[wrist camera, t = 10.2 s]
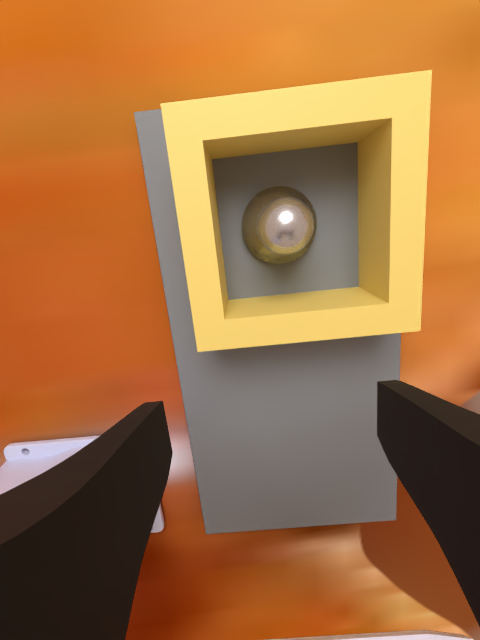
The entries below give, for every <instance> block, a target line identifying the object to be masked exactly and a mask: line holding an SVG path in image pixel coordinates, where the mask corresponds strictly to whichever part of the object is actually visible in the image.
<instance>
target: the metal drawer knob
mask: <svg viewBox="0 0 480 640" xmlns="http://www.w3.org/2000/svg"><path fill="white" fill-rule="evenodd" d="M316 228H317V220H316V214H315V211H314V208H313V206H312V204H311V202H310V201H309V200H308V198H307V197H306V196H305V195H304V194H302V193H301V192H300V191H298V190H296V189H294V188H291V187H287V186H274V187H270V188H267V189H264V190H262V191H261V192H259V193H258V194H257V195H255V196H254V197H253V198H252V199H251V201H250V202H249V203H248V205H247V207H246V209H245V211H244V214H243V218H242V235H243V238H244V241H245V243H246V245H247V247H248V248H249V250H250V251H251V252H252V253H253V254H254V255H255V256H256V257H258V258H259V259H261V260H263V261H266V262H269V263H274V264H282V263H287V262H291V261H293V260H295V259H297V258H298V257H300V256H301V255H302V254H304V253H305V252H306V251H307V249H308V248H309V247H310V245H311V243H312V242H313V239H314V237H315V233H316Z"/></svg>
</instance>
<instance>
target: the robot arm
mask: <svg viewBox="0 0 480 640" xmlns="http://www.w3.org/2000/svg"><path fill="white" fill-rule="evenodd" d="M377 436H378V439H379V441H380V443H381V446H382V448H383V450H384V452H385V454H386V457H387V459H388V461H389V463H390V464H391V466H392V468H393V469H394V471H395V473H396V474H397V476H398V477H399V479H400V481H401V482H402V484H403V486H404V487H405V489H406V490H407V492H408V493H409V495H410V496H411V498H412V500H413V501H414V503H415V505H416V506H417V508H418V509H419V511H420V512H421V514H422V516H423V517H424V519H425V520H426V522H427V524H428V525H429V527H430V529H431V530H432V532H433V533H434V535H435V537H436V539H437V541H438V542H439V544H440V546H441V548H442V550H443V552H444V554H445V556H446V558H447V560H448V562H449V564H450V566H451V568H452V570H453V572H454V574H455V576H456V578H457V580H458V582H459V584H460V586H461V588H462V590H463V593H464V595H465V597H466V599H467V601H468V603H469V605H470V607H471V609H472V611H473V613H474V615H475V618H476V620H477V622H478V624H479V626H480V415H479V414H477V413H474V412H472V411H469V410H467V409H464V408H462V407H459V406H457V405H455V404H452V403H450V402H448V401H445V400H443V399H441V398H439V397H436V396H434V395H432V394H430V393H427V392H425V391H423V390H421V389H418V388H416V387H414V386H411V385H409V384H407V383H404V382H401V381H398V380H388V381H377ZM25 448H26V449H28V450H29V451H27V450H26V449H25ZM172 453H173V452H172V447H171V442H170V437H169V431H168V426H167V421H166V416H165V410H164V405H163V401H157V402H146V403H144V404H142V405H140V406H139V407H138V408H136V409H135V410H133V411H132V412H131V413H130V414H128V415H127V416H126V417H124V418H123V419H122V420H120V421H119V422H118V423H117V424H115V425H114V426H113V427H111V428H110V429H109V430H107V431H106V432H105V433H103V434H102V435H100V436H89V437H77V438H66V439H54V440H43V441H32V442H20V443H11V444H9V445H8V446H7V447H5V448H4V455H5V458H6V462H5V463H4V464H3V465H2V466H1V467H0V640H125V637H126V632H127V627H128V622H129V618H130V613H131V608H132V603H133V598H134V594H135V589H136V585H137V580H138V576H139V571H140V567H141V563H142V559H143V556H144V552H145V548H146V545H147V542H148V539H149V536H150V533H155V532H161V531H162V530H163V528H164V525H165V522H164V517H163V513H162V508H161V503H160V502H161V499H162V496H163V493H164V490H165V487H166V483H167V480H168V475H169V470H170V464H171V458H172ZM266 640H474V639H471V638H469V637H467V636H465V635H461V634H454V633H446V632H438V631H430V630H412V631H396V632H380V633H364V634H348V635H331V636H315V637H299V638H283V639H266Z"/></svg>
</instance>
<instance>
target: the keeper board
mask: <svg viewBox="0 0 480 640" xmlns="http://www.w3.org/2000/svg"><path fill="white" fill-rule="evenodd" d="M134 115H135V121H136V127H137V133H138V139H139V145H140V151H141V156H142V162H143V168H144V174H145V180H146V186H147V192H148V197H149V203H150V209H151V215H152V221H153V227H154V233H155V238H156V244H157V250H158V256H159V262H160V268H161V274H162V279H163V285H164V291H165V297H166V303H167V309H168V315H169V320H170V326H171V332H172V338H173V344H174V350H175V355H176V361H177V367H178V373H179V379H180V385H181V391H182V396H183V402H184V408H185V414H186V420H187V426H188V432H189V437H190V443H191V449H192V455H193V461H194V467H195V473H196V478H197V484H198V490H199V496H200V502H201V508H202V514H203V519H204V525H205V531H206V534H216V533H229V532H243V531H256V530H269V529H283V528H296V527H310V526H323V525H336V524H350V523H362V522H375V521H376V522H377V521H390V520H396V502H397V474H396V473H395V471H394V469H393V468H392V466H391V464H390V463H389V461H388V459H387V457H386V454H385V452H384V450H383V448H382V446H381V443H380V441H379V439H378V436H377V381H388V380H398V381H400V343H401V333H393V334H382V335H372V336H361V337H351V338H340V339H330V340H319V341H308V342H298V343H287V344H277V345H266V346H256V347H245V348H235V349H224V350H214V351H203V352H197V345H196V338H195V332H194V325H193V318H192V312H191V305H190V298H189V292H188V285H187V278H186V271H185V265H184V258H183V251H182V245H181V238H180V231H179V225H178V218H177V211H176V205H175V198H174V191H173V185H172V178H171V171H170V164H169V158H168V151H167V144H166V138H165V131H164V124H163V118H162V111H161V109H157V110H149V111H141V112H134ZM212 164H213V173H214V181H215V190H216V198H217V207H218V215H219V224H220V232H221V241H222V250H223V258H224V267H225V275H226V284H227V292H228V300H232V299H242V298H252V297H262V296H272V295H282V294H292V293H302V292H312V291H322V290H332V289H342V288H352V287H359V248H358V142H356V143H347V144H339V145H330V146H322V147H313V148H305V149H296V150H288V151H279V152H271V153H262V154H254V155H245V156H237V157H228V158H220V159H212ZM274 186H287V187H291V188H294V189H296V190H298V191H300V192H301V193H302V194H304V195H305V196H306V197H307V198H308V200H309V201H310V202H311V204H312V206H313V208H314V211H315V214H316V220H317V228H316V233H315V237H314V239H313V242H312V243H311V245H310V247H309V248H308V249H307V251H306V252H305V253H304V254H302V255H301V256H300V257H298V258H297V259H295V260H293V261H291V262H287V263H282V264H274V263H269V262H266V261H263V260H261V259H259V258H258V257H256V256H255V255H254V254H253V253H252V252H251V251H250V250H249V248H248V247H247V245H246V243H245V241H244V238H243V235H242V218H243V214H244V211H245V209H246V207H247V205H248V203H249V202H250V201H251V199H252V198H253V197H254V196H255V195H257V194H258V193H259V192H261V191H262V190H264V189H267V188H270V187H274Z"/></svg>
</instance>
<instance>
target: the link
mask: <svg viewBox="0 0 480 640" xmlns="http://www.w3.org/2000/svg"><path fill="white" fill-rule="evenodd" d="M431 77H432V70H427V71H419V72H411V73H403V74H395V75H387V76H379V77H371V78H363V79H355V80H347V81H339V82H331V83H323V84H315V85H307V86H298V87H290V88H282V89H274V90H266V91H258V92H250V93H242V94H234V95H226V96H218V97H210V98H202V99H194V100H186V101H178V102H170V103H162V104H161V111H162V118H163V124H164V131H165V138H166V144H167V151H168V158H169V164H170V171H171V178H172V185H173V191H174V198H175V205H176V211H177V218H178V225H179V231H180V238H181V245H182V251H183V258H184V265H185V271H186V278H187V285H188V292H189V298H190V305H191V312H192V318H193V325H194V332H195V338H196V345H197V352H203V351H214V350H224V349H235V348H245V347H256V346H266V345H277V344H287V343H298V342H308V341H319V340H330V339H340V338H351V337H361V336H372V335H382V334H393V333H403V332H414V331H420V329H421V306H422V283H423V260H424V237H425V214H426V191H427V168H428V145H429V123H430V100H431ZM356 142H358V248H359V287H352V288H342V289H332V290H322V291H312V292H302V293H292V294H282V295H272V296H262V297H252V298H242V299H232V300H228V292H227V284H226V275H225V267H224V258H223V250H222V241H221V232H220V224H219V215H218V207H217V198H216V190H215V181H214V173H213V164H212V159H220V158H228V157H237V156H245V155H254V154H262V153H271V152H279V151H288V150H296V149H305V148H313V147H322V146H330V145H339V144H347V143H356Z"/></svg>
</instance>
